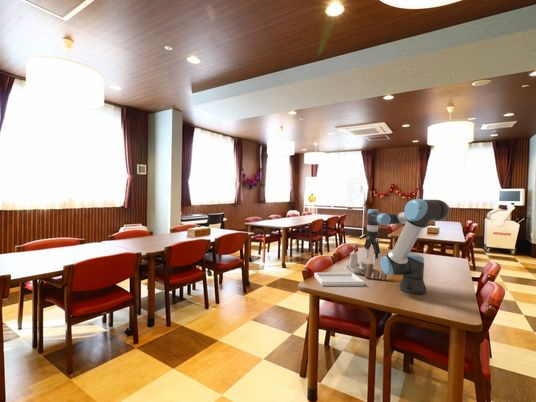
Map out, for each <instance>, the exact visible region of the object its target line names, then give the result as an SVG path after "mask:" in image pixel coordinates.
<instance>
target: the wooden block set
mask: <svg viewBox="0 0 536 402" xmlns="http://www.w3.org/2000/svg"><path fill="white" fill-rule="evenodd" d="M370 263H371V262H368V265H367V270H364V271H363V272H360V273H361V274H360V275H361V276H364V278H366V279H371V278H372V279H374V280H377V281H379V280H380V281H383V282H384V281H386V280H387V276H388V275H386V274H385V273H384V272H383V271H380V270H375V271H373V269H374V264H372V263H371V264H370ZM372 273H373V275H372ZM379 277H380V279H379Z"/></svg>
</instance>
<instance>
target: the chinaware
mask: <svg viewBox="0 0 536 402" xmlns="http://www.w3.org/2000/svg"><path fill="white" fill-rule="evenodd" d="M349 255H350V256H349V261H348V263H347V264H346V268H347V270H348V271H350V273H354V274H355V275H359V274H360V273H362V270H364V269H365V270H364V271H366V270H367V265H368V263H370V264H372V263H371V262H367V261H365V262H364V261H361V262H360V263H359V260H358V257H359V253H358V252H356V251H355V250H354V249H353V251H351V252H349Z"/></svg>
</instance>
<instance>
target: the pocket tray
mask: <svg viewBox="0 0 536 402" xmlns="http://www.w3.org/2000/svg"><path fill="white" fill-rule="evenodd" d="M313 274H314V276H313V277H314V278H315V280H316V281H317V282H318V283H319V285H320V284H321V285H320V286H321V287H364V286H365V281H364V280H363V279H362V278H360V277H359V276H357V274H354V272H353V273H351V272H314V273H313Z"/></svg>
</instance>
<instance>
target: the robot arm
mask: <svg viewBox="0 0 536 402" xmlns="http://www.w3.org/2000/svg"><path fill="white" fill-rule="evenodd" d="M404 206H405V207H404V209H403V210H404V211H402V212H398V213H397V212H396V213H395V212H394V213H393V212H392V213H391V212H389V213H388V212H386V213H385V212H383V213H382V212H379V209H375V208H374V209H372V208H370V209H368V210H367V213H366V214H367V218H366V220H367V222H366V238H365V243H364V248H365V249H364V250H365V259H370V248H371V245H372V249H373V251H374V252H373V263H374V264H378V263H380V268H381V270H382V271H383V272H384V273H385V274H386V275H387V276H402V277H401V280H400V284H399V285H398V288H399V290H400V291H401V292H403V293H407V294H412V295H419V296H420V295H426V294H427V287H426V284H425V280H424V275H425V274H424V272H425V270H424V269H425V259H424V257H423V256H422V255H419V254H416V253H411V251H412V248H413V247H414V245H415V244H416V241H417V240H418V238H419V236H420V234H421V233H422V230H423V229H425V228H428V226H429V224H430V222H438V221H439V222H440V221H444V220H445V219H447V218H448V217H449V215H450V212H451V211H450V206H449V205H448V204H447V203H446V201H444V200H441V199H422V198H417V199H411V200H410V201H408V202H407V203H406V205H404ZM379 225H381V226H388V225H400V226H401V225H404V226H403V228H402V229H401V232H400V235H399V236H398V238H397V240H396V243H395V244H394V246H393V248H392V249H390V250H388V253H387V255H383V256H381V257H380V261H379V254H380V253H381V251H380V249H381V248H380V245H379V239H378V238H377V237H379ZM382 271H381V272H382Z"/></svg>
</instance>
